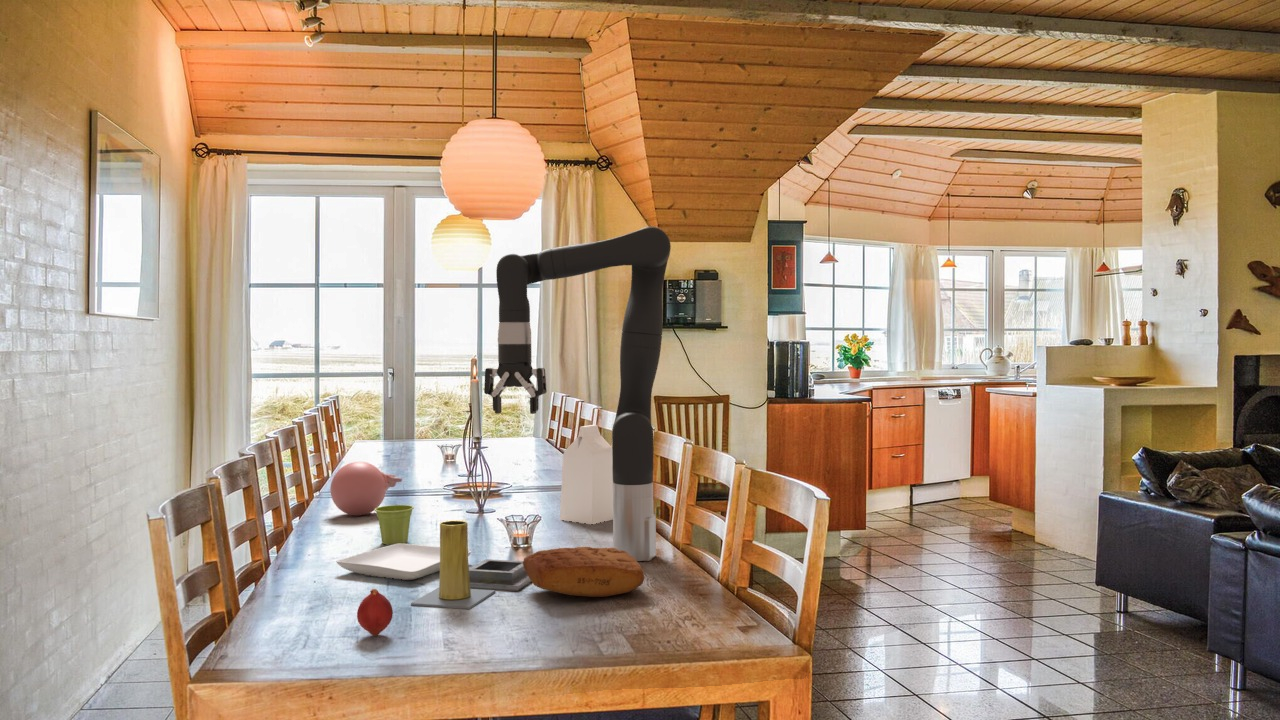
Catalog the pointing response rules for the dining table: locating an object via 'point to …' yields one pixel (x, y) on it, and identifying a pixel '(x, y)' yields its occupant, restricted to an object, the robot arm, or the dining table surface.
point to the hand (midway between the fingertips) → (515, 413)
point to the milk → (587, 479)
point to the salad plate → (396, 561)
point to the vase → (454, 561)
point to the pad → (467, 603)
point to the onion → (374, 613)
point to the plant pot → (394, 523)
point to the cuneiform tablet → (584, 571)
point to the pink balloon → (360, 488)
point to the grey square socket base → (499, 575)
